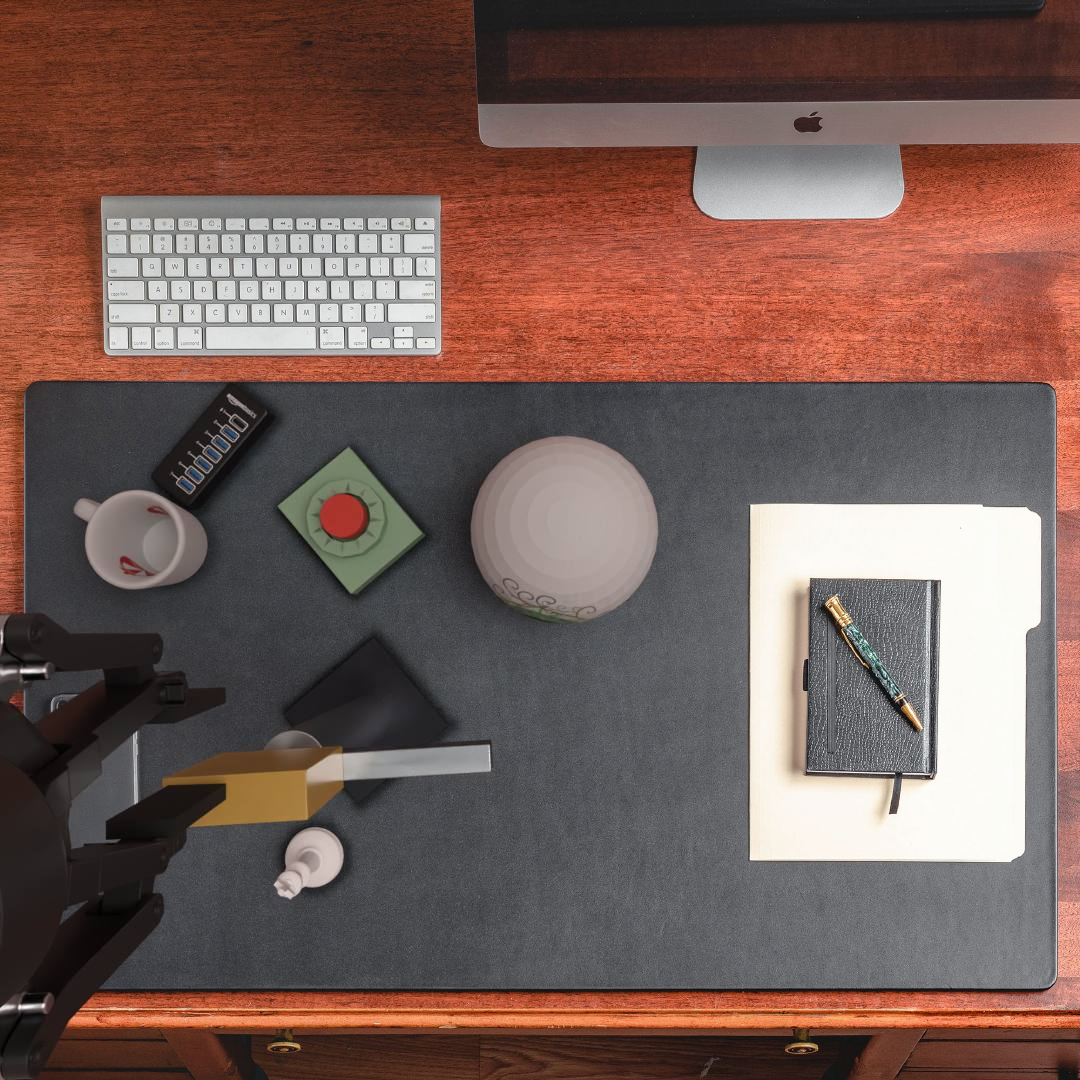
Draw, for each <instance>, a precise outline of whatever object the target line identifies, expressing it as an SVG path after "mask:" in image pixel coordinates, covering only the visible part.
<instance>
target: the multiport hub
mask: <svg viewBox="0 0 1080 1080" xmlns="http://www.w3.org/2000/svg"><path fill="white" fill-rule="evenodd" d="M275 419H276V415H275V414H274V413H273V411H271V410H269V409H268V408H267V407H266V406H265V405H264V404H262V403H261V402H260V401H258V400H257V399H256V398H255V397H254V396H252V395H251V394H250V393H249V392H248V391H246V390H245V389H244V388H243V387H241V386H240V385H239V384H237V383H236V382H233V381H231V382H228V383H227V384H226V385H225V386H224V388H223V389H222V390H221V391H220V392H219V394H218V395H216V397H215V398H214V400H213V401H212V402H211V403H210V404H209V405H208V406H207V408H206V409H205V410H204V411H203V412H202V414H201V415H200V416H199V417H198V419H197V420H196V421H195V422H194V423H193V424H192V425H191V427H190V428H188V430H187V431H186V432H185V433H184V435H183V436H182V437H181V438H180V439H179V440H178V442H176V444H175V445H174V447H173V448H171V450H170V451H169V452H168V453H167V455H165V457H164V458H163V459H162V461H161V462H160V463H159V464H158V465H157V467H155V469H154V470H153V471H152V472H151V475H150V477H151V480H152V481H153V482H155V483H156V484H157V485H158V486H160V487H161V488H162V489H163V490H164V491H166V492H167V493H168V494H169V495H170V496H171V497H173V498H174V499H175V500H177V502H179V503H180V504H182V505H183V506H184V507H187V508H191V509H194V510H199V509H201V508H202V507H203V505H204V504H205V503H206V502H207V501H208V500H209V498H210V497H211V496H212V495H213V493H215V491H216V490H217V489H218V487H219V486H221V484H222V483H223V482H224V481H225V480H226V478H227V477H228V476H229V475H230V474H231V472H232V471H233V470H234V469H235V468H236V467H237V465H238V464H239V463H240V462H241V461H242V459H243V458H244V457H245V455H247V453H248V452H249V451H250V450H251V449H252V447H253V446H254V445H255V444H256V442H258V440H259V439H260V438H261V437H262V436H263V434H265V432H266V431H267V429H269V427H270V426H272V424H273V422H275Z"/></svg>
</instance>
